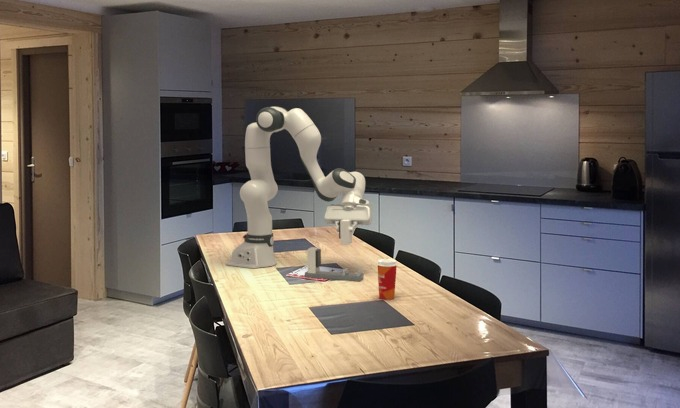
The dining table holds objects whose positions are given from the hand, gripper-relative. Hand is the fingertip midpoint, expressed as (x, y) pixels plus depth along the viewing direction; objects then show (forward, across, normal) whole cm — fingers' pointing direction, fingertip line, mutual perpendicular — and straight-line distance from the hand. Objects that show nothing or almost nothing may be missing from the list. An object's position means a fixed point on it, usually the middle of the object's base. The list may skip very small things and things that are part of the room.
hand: (344, 231), depth 280 cm
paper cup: (+34, +24, -6) cm, 42 cm away
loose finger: (+3, 0, +4) cm, 5 cm away
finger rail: (+17, -3, +10) cm, 20 cm away
